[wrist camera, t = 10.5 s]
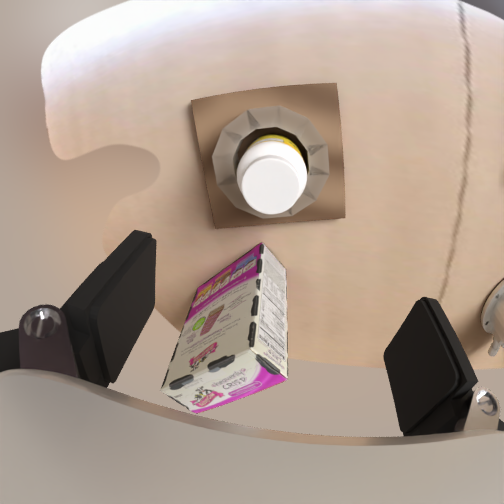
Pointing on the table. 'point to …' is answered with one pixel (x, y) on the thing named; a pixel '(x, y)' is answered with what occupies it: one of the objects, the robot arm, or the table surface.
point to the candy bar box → (232, 335)
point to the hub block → (272, 122)
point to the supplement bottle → (272, 174)
